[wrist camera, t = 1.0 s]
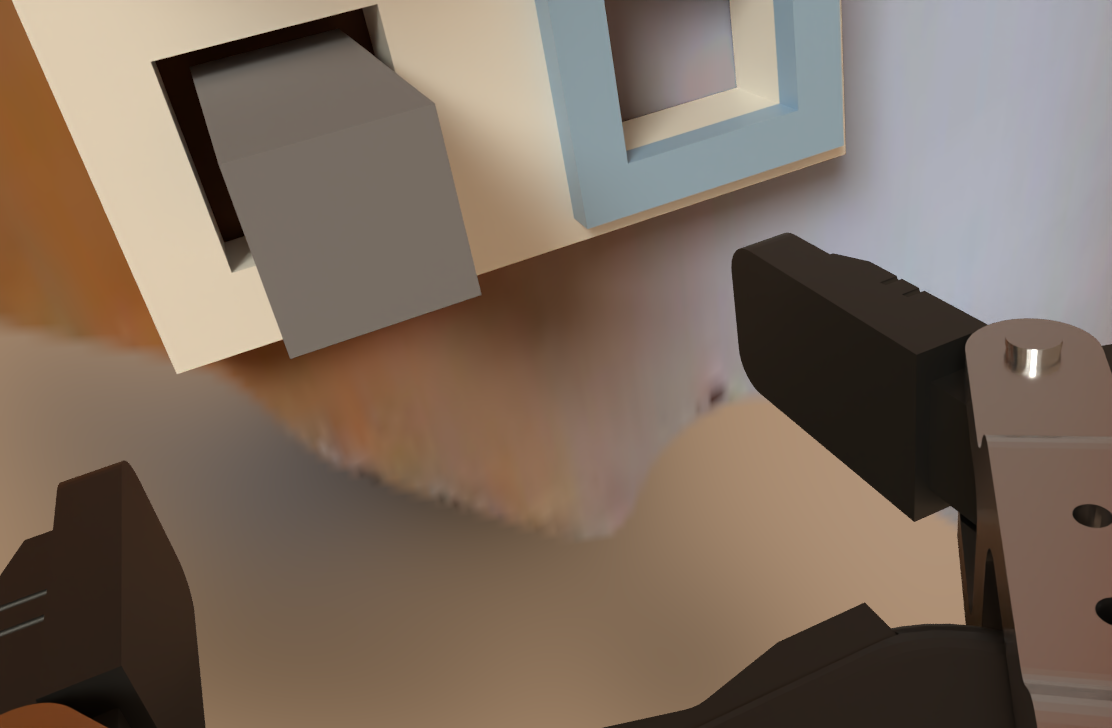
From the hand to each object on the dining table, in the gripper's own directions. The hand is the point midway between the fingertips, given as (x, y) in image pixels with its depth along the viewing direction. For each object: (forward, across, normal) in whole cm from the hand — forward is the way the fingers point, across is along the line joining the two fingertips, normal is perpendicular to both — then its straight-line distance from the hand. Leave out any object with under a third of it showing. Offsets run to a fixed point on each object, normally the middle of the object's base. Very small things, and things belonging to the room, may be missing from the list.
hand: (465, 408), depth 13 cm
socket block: (+17, -6, 0) cm, 18 cm away
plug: (+17, 0, 0) cm, 17 cm away
